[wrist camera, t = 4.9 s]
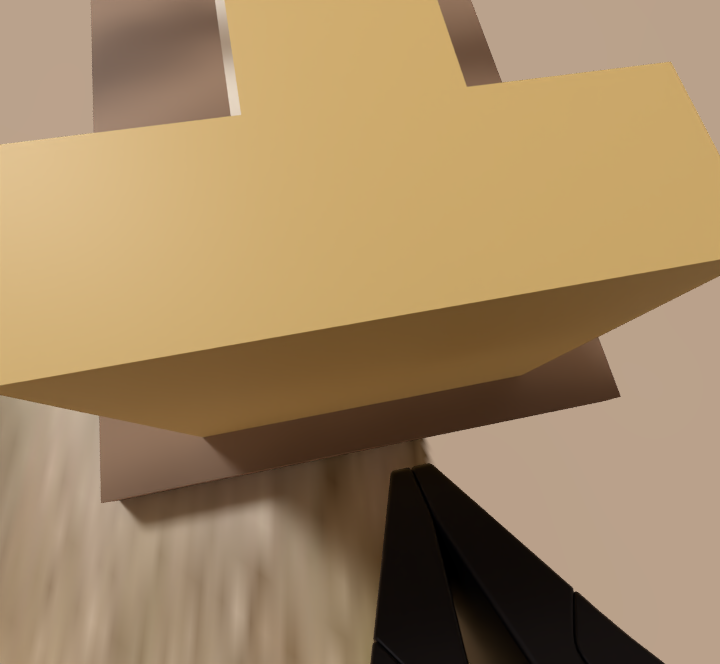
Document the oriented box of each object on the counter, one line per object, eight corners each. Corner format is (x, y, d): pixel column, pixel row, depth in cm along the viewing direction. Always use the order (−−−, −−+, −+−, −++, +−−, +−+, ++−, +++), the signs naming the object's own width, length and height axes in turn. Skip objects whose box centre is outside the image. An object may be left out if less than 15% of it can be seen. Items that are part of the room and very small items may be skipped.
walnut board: (602, 401, 18) (621, 396, 16) (118, 500, 16) (100, 503, 14) (446, -27, 25) (452, -52, 24) (103, 6, 23) (90, -20, 22)
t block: (521, 375, 17) (769, 250, 7) (202, 437, 15) (-25, 390, 6) (443, 123, 20) (537, -192, 10) (177, 158, 19) (7, -162, 9)
